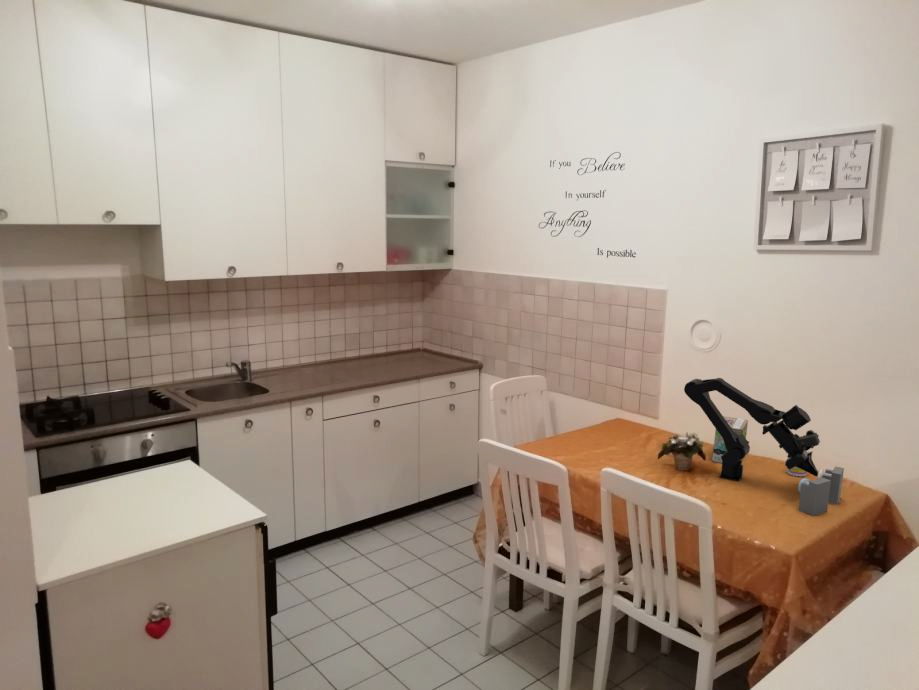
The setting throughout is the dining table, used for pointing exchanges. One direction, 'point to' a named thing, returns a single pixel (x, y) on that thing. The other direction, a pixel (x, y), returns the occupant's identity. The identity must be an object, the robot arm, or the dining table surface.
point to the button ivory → (821, 474)
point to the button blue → (802, 482)
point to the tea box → (719, 446)
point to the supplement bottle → (797, 471)
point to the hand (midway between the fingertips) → (817, 475)
